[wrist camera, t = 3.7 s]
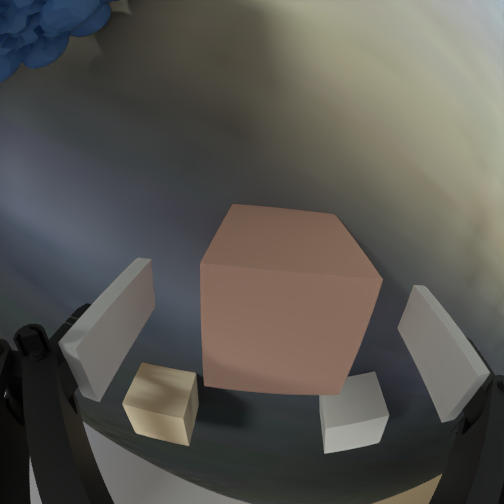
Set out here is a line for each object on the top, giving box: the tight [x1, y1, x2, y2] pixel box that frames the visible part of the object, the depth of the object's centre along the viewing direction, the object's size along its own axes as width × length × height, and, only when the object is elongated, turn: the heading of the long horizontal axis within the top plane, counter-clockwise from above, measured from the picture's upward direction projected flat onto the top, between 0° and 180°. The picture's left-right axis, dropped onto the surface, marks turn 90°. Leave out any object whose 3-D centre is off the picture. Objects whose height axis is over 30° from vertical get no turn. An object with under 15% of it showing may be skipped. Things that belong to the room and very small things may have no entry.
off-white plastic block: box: [319, 371, 389, 454], centre depth 20 cm, size 5×5×5 cm
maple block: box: [122, 362, 199, 446], centre depth 21 cm, size 5×5×5 cm
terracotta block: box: [200, 204, 383, 395], centre depth 13 cm, size 6×6×8 cm
